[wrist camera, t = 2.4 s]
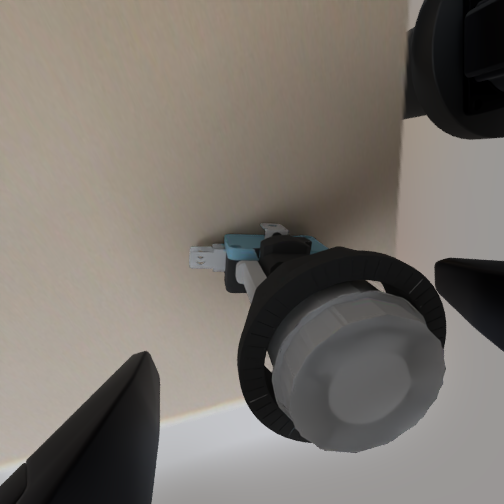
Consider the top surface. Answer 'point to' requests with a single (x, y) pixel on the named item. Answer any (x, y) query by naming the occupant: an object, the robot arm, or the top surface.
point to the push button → (332, 338)
